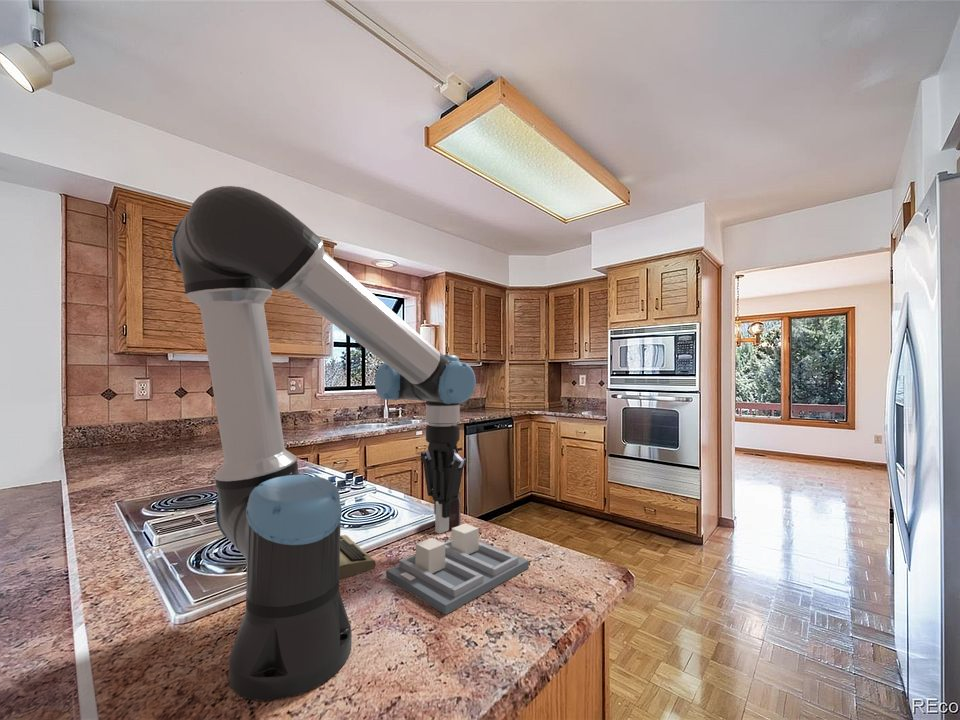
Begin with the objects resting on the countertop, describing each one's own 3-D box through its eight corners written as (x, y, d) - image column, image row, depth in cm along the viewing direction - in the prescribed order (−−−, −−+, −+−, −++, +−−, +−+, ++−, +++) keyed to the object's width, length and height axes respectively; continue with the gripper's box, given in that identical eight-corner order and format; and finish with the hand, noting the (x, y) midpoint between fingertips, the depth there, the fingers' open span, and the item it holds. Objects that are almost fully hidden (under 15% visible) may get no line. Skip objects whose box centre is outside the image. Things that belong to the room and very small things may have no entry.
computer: (376, 570, 82) (376, 553, 82) (335, 583, 77) (335, 565, 77) (347, 544, 94) (347, 529, 94) (310, 554, 89) (311, 538, 89)
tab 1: (428, 575, 75) (428, 550, 75) (415, 567, 78) (415, 543, 78) (445, 567, 78) (445, 543, 78) (431, 560, 81) (431, 537, 81)
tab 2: (464, 556, 83) (464, 533, 83) (451, 550, 86) (451, 528, 86) (478, 550, 86) (478, 528, 86) (465, 544, 89) (465, 523, 89)
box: (459, 528, 103) (459, 498, 103) (435, 528, 103) (435, 498, 103) (460, 519, 109) (460, 491, 109) (438, 519, 109) (438, 491, 109)
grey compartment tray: (445, 614, 66) (445, 597, 66) (385, 578, 78) (386, 563, 78) (528, 568, 82) (528, 554, 82) (468, 543, 94) (468, 531, 94)
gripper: (475, 425, 90) (475, 534, 89) (436, 420, 99) (435, 519, 98) (450, 428, 84) (449, 544, 84) (411, 422, 93) (410, 527, 93)
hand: (442, 530), depth 91 cm, fingers closed
